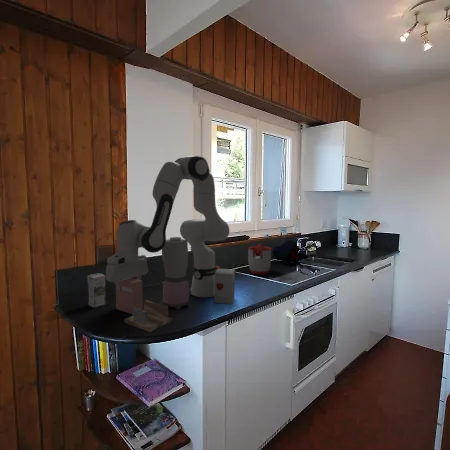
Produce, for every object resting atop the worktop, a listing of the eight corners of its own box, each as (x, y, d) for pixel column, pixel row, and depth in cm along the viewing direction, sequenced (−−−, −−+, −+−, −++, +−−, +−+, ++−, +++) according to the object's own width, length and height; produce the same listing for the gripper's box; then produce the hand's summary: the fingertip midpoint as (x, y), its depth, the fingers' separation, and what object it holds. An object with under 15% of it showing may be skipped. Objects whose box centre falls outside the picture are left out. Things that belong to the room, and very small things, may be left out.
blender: (194, 304, 143) (194, 237, 140) (175, 311, 134) (174, 240, 130) (172, 297, 153) (172, 234, 150) (153, 303, 144) (152, 237, 140)
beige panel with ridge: (147, 313, 132) (147, 298, 131) (172, 321, 123) (172, 306, 123) (124, 322, 122) (123, 307, 121) (149, 332, 114) (149, 315, 113)
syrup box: (99, 302, 145) (98, 272, 143) (106, 305, 141) (105, 274, 140) (88, 305, 141) (86, 275, 139) (94, 308, 137) (93, 277, 135)
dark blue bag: (286, 272, 241) (318, 269, 218) (263, 263, 228) (295, 259, 204) (289, 247, 249) (320, 242, 225) (267, 237, 235) (297, 231, 212)
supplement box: (214, 303, 145) (214, 272, 143) (217, 297, 154) (217, 268, 152) (232, 304, 144) (233, 273, 142) (234, 298, 152) (235, 269, 151)
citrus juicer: (244, 275, 196) (245, 245, 194) (250, 269, 212) (250, 241, 210) (268, 277, 191) (269, 246, 189) (272, 271, 208) (273, 242, 206)
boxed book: (125, 305, 141) (124, 276, 140) (142, 311, 134) (142, 280, 133) (116, 308, 137) (115, 278, 135) (133, 314, 130) (132, 283, 129)
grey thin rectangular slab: (135, 319, 122) (135, 307, 121) (147, 323, 118) (147, 311, 117) (133, 320, 121) (133, 308, 120) (145, 324, 117) (144, 312, 116)
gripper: (141, 253, 143) (141, 281, 144) (103, 259, 126) (103, 291, 127) (150, 254, 140) (151, 283, 141) (112, 261, 123) (113, 294, 124)
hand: (128, 287), depth 134 cm, fingers open, 8 cm apart
